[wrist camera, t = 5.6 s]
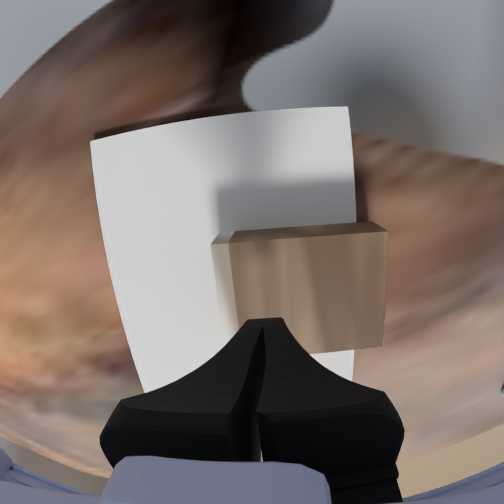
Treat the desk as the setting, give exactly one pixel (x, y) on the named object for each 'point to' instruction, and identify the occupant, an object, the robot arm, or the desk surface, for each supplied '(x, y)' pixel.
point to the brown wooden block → (306, 282)
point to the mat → (210, 218)
